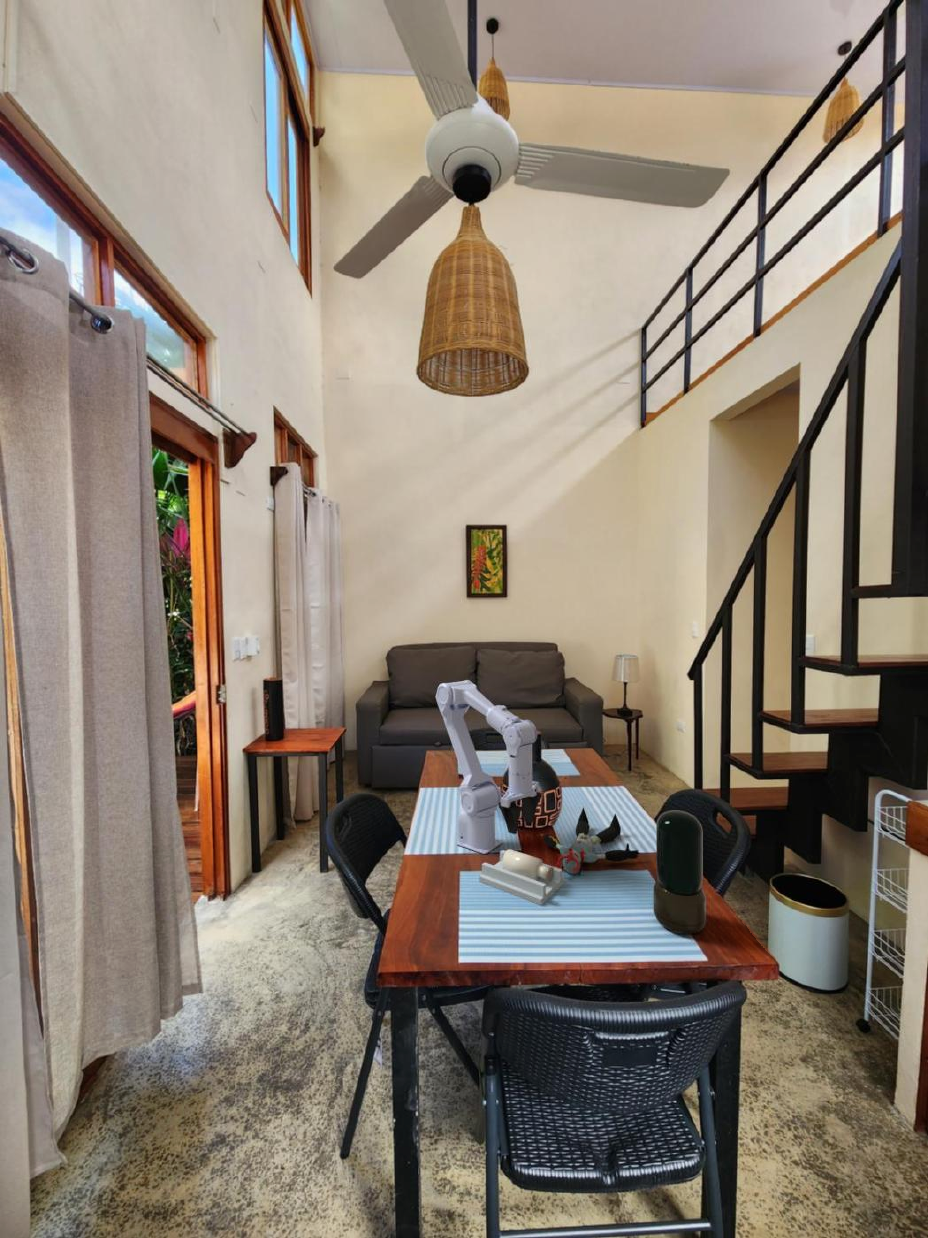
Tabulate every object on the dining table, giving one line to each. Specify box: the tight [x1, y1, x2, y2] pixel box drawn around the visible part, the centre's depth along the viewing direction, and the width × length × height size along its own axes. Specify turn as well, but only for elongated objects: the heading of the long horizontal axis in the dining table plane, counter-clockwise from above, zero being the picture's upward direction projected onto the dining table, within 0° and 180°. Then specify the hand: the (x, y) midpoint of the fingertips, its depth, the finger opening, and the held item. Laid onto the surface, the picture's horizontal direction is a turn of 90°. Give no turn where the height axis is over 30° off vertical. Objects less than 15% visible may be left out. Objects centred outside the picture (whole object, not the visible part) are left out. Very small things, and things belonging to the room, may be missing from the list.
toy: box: [540, 806, 640, 877], centre depth 131 cm, size 26×8×30 cm
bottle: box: [502, 848, 554, 882], centre depth 118 cm, size 11×5×5 cm, turn 53°
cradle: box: [478, 849, 565, 906], centre depth 118 cm, size 16×11×4 cm
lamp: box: [653, 809, 707, 935], centre depth 102 cm, size 10×10×22 cm
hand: (520, 827), depth 125 cm, fingers open, 7 cm apart
